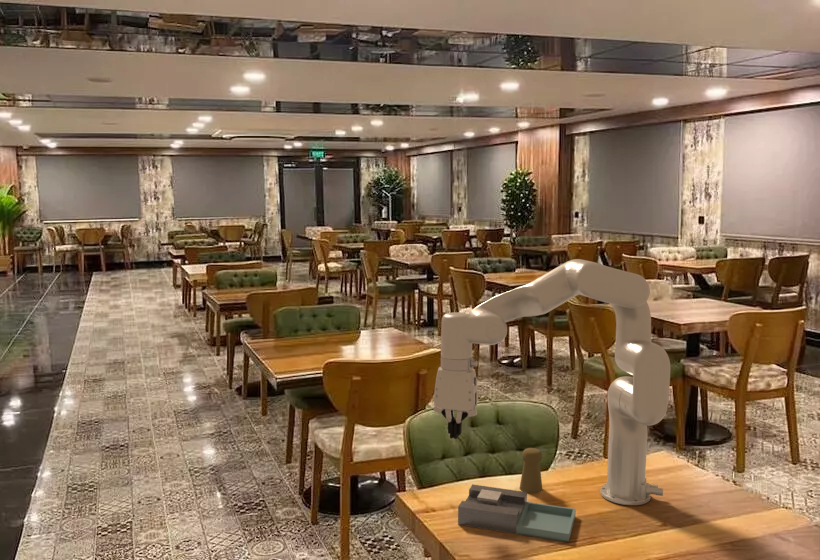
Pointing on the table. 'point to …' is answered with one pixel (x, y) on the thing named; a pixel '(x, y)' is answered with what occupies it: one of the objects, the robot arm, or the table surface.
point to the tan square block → (490, 497)
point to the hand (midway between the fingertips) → (454, 436)
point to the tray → (546, 521)
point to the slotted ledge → (492, 510)
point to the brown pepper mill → (531, 471)
